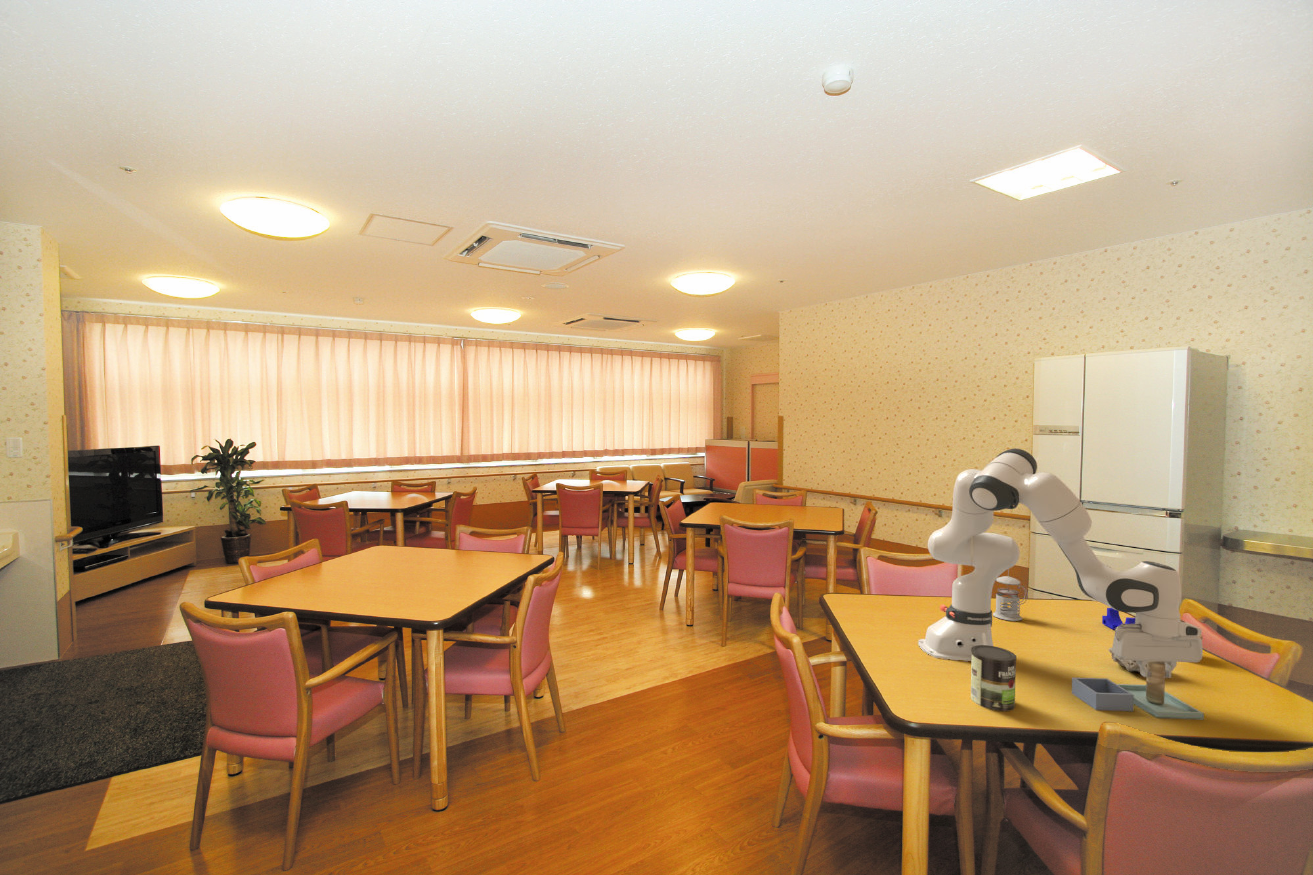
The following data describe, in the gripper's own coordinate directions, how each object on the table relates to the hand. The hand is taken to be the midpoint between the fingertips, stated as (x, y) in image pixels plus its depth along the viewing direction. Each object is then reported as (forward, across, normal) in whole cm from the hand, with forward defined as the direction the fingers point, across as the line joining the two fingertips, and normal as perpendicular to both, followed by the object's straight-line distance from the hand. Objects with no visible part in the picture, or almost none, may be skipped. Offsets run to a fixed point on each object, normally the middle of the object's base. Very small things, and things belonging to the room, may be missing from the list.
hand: (1155, 676), depth 150 cm
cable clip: (+8, +33, +58) cm, 67 cm away
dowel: (+6, 0, 0) cm, 6 cm away
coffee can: (+8, -42, -2) cm, 43 cm away
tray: (+8, 0, 0) cm, 8 cm away
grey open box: (+8, -13, 0) cm, 16 cm away
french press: (+8, +1, +69) cm, 69 cm away
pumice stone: (+8, +13, +21) cm, 26 cm away
